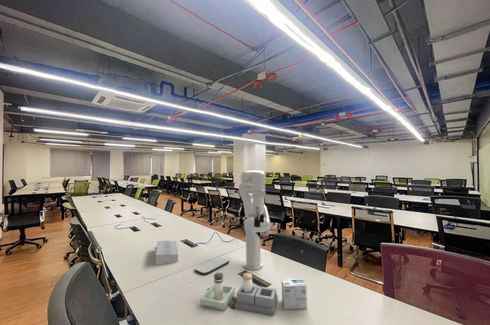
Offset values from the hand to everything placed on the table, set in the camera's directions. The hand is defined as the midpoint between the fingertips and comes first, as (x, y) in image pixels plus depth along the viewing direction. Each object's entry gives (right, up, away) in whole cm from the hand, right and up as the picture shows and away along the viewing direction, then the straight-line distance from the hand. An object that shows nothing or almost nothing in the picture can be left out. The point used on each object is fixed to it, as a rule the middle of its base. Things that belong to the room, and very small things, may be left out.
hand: (259, 224), depth 119 cm
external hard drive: (-29, -35, +23) cm, 51 cm away
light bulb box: (+15, -33, -18) cm, 40 cm away
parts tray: (-21, -33, -13) cm, 41 cm away
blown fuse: (-21, -32, -13) cm, 41 cm away
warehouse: (-67, -36, +43) cm, 87 cm away
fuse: (-7, -31, -15) cm, 35 cm away
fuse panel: (-2, -33, -17) cm, 37 cm away
